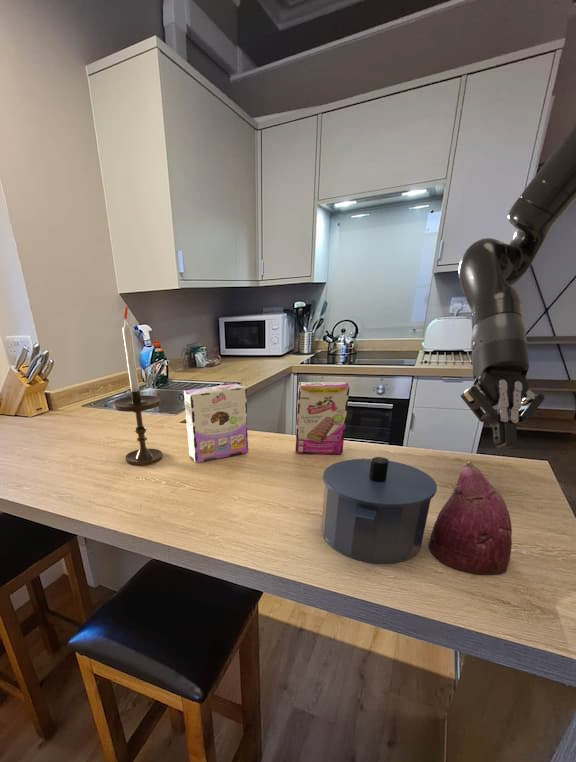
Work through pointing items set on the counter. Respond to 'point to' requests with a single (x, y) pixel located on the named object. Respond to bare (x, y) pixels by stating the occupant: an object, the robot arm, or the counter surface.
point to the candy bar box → (321, 417)
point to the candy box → (216, 422)
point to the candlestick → (137, 405)
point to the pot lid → (379, 482)
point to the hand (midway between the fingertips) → (505, 447)
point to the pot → (373, 529)
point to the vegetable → (473, 527)
